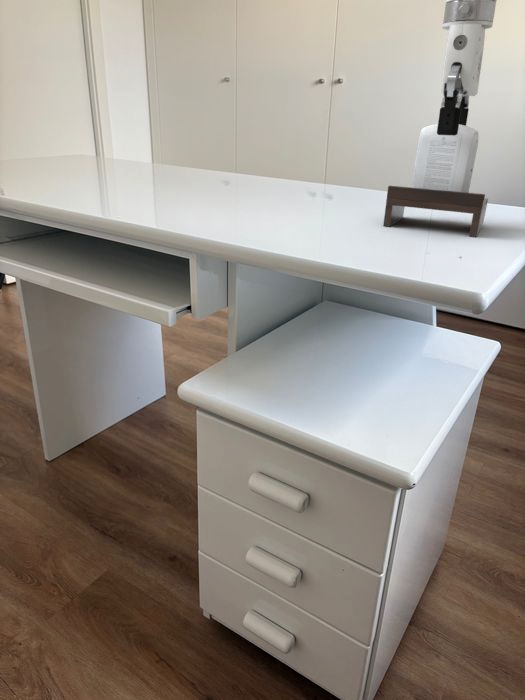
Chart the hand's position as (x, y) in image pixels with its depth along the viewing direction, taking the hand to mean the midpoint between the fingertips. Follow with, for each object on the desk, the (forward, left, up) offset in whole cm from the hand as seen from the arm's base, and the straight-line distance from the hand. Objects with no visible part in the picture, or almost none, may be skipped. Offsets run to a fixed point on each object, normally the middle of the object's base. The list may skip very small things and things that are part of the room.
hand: (451, 133), depth 92 cm
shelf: (0, 0, -16) cm, 16 cm away
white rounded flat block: (0, 0, -11) cm, 11 cm away
